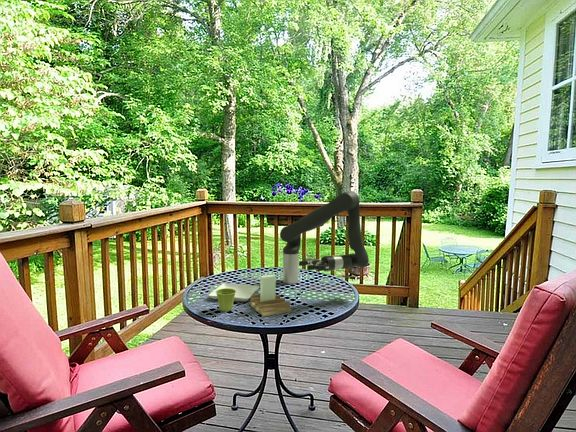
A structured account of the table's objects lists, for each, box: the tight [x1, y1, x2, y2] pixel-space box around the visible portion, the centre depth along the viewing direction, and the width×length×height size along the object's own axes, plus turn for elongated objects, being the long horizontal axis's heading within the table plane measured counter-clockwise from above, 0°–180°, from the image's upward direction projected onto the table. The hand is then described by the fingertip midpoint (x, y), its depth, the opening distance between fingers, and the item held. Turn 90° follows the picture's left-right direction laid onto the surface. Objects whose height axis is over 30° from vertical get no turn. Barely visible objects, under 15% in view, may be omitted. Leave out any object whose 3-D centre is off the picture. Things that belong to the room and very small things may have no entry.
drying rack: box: [249, 291, 292, 317], centre depth 179 cm, size 17×14×4 cm
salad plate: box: [208, 282, 260, 302], centre depth 196 cm, size 21×21×3 cm
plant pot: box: [216, 288, 236, 312], centre depth 176 cm, size 9×9×9 cm
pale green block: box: [259, 274, 277, 302], centre depth 178 cm, size 3×6×14 cm, turn 116°
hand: (303, 265), depth 182 cm, fingers open, 8 cm apart
